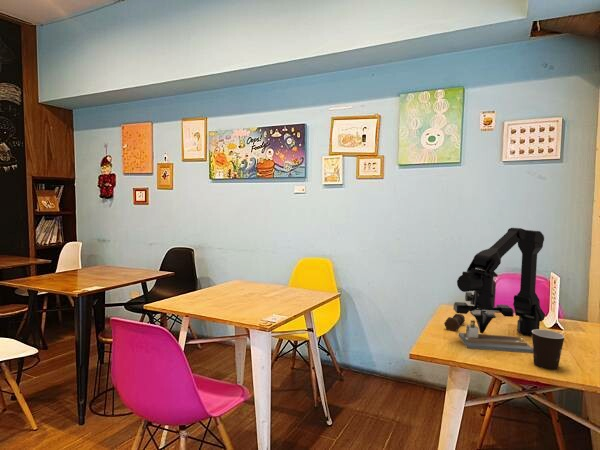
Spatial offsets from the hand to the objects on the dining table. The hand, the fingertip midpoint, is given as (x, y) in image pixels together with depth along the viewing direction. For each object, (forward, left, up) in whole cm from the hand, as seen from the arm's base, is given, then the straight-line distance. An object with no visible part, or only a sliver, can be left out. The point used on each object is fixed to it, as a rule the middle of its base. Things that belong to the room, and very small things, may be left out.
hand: (481, 333), depth 144 cm
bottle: (-12, -38, -4) cm, 40 cm away
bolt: (+4, -19, -4) cm, 19 cm away
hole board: (-4, 0, -4) cm, 6 cm away
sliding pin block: (+3, 0, -2) cm, 4 cm away
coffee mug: (-15, +16, -4) cm, 23 cm away
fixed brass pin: (-13, 0, -2) cm, 14 cm away
